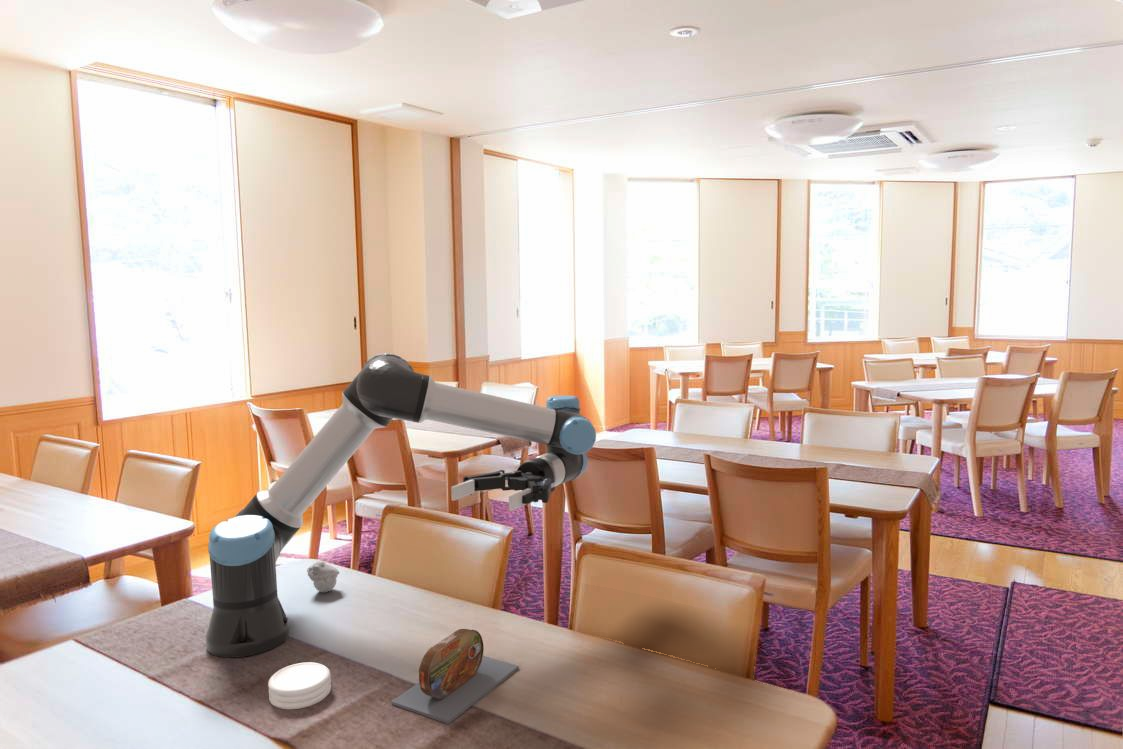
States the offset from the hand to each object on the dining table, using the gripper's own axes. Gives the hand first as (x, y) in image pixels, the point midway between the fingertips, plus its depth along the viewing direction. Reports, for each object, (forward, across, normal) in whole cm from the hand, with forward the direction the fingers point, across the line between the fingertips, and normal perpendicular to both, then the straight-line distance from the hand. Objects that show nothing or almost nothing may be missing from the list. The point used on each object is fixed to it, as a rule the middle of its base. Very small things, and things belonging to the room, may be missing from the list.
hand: (480, 498), depth 147 cm
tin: (+17, -6, -28) cm, 33 cm away
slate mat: (+16, -6, -28) cm, 33 cm away
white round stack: (+31, +15, -29) cm, 45 cm away
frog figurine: (-1, +46, -29) cm, 54 cm away
